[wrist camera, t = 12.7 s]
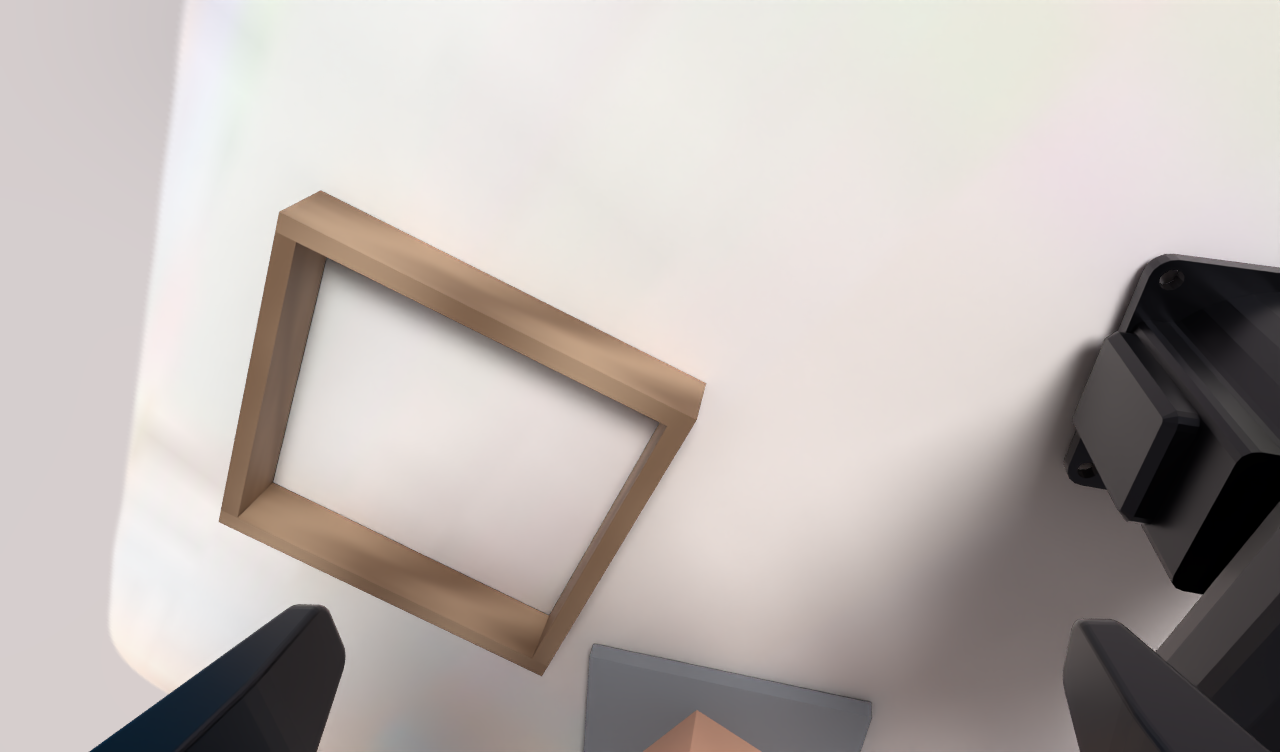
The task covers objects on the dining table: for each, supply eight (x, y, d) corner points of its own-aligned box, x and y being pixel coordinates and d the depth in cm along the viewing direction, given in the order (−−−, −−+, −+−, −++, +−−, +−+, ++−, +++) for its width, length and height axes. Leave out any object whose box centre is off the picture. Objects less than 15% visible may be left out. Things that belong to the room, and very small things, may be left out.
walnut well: (705, 383, 23) (696, 420, 21) (558, 632, 29) (541, 675, 28) (320, 190, 22) (278, 211, 21) (254, 486, 29) (218, 521, 27)
